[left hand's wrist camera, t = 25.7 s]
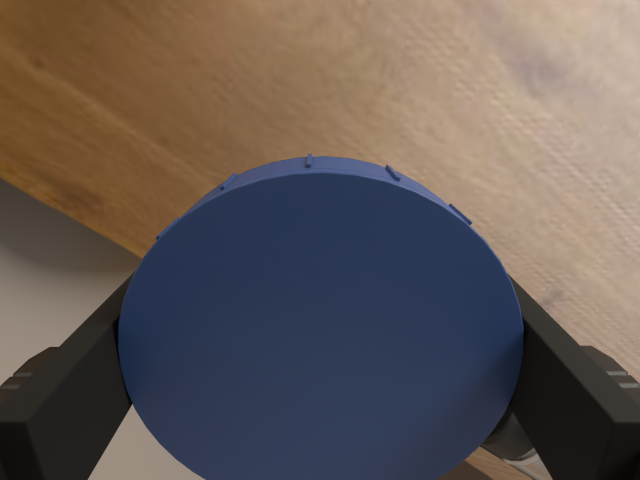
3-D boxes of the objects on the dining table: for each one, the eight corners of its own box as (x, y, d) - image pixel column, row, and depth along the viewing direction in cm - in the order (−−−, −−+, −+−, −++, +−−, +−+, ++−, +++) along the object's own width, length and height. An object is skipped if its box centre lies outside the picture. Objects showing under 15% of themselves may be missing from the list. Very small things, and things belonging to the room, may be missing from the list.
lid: (217, 475, 15) (201, 534, 13) (90, 208, 11) (41, 235, 9) (505, 421, 14) (536, 476, 12) (470, 110, 10) (506, 116, 8)
